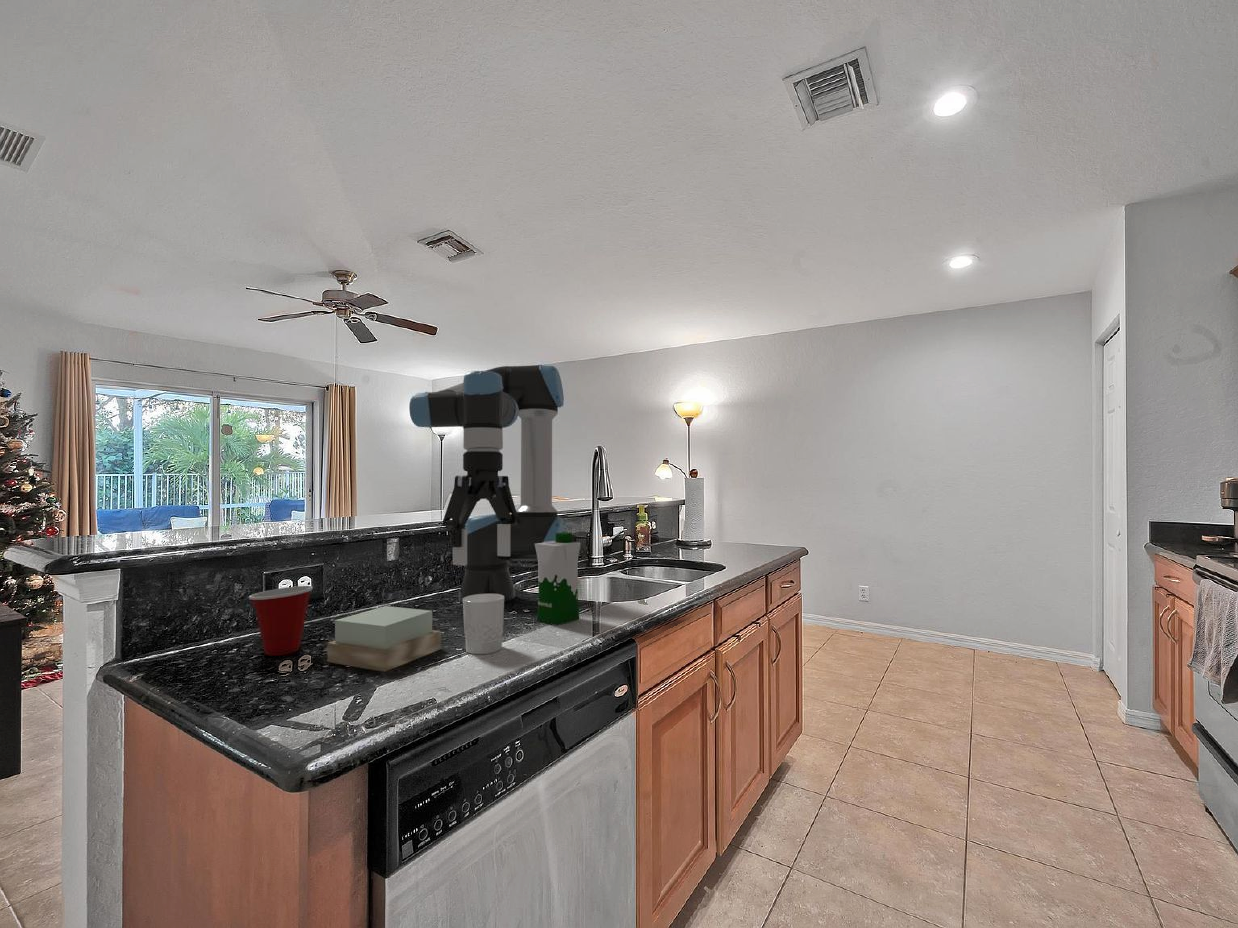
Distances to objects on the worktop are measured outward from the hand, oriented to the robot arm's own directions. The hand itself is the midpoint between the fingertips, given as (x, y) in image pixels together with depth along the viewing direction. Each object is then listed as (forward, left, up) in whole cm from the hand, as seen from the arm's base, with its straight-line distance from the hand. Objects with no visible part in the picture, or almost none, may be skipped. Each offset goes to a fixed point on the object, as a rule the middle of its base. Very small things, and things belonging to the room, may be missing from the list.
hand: (483, 560), depth 110 cm
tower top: (+10, -15, -14) cm, 23 cm away
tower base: (+10, -15, -18) cm, 25 cm away
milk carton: (-25, +2, -17) cm, 31 cm away
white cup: (0, 0, -17) cm, 17 cm away
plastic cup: (+16, -36, -17) cm, 43 cm away
